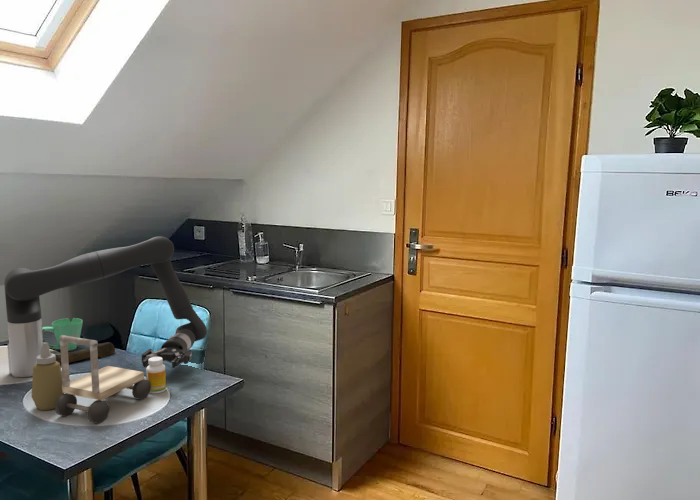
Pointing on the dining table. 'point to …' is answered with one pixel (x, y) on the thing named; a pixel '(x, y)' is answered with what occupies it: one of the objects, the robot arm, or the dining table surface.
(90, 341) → the trolley
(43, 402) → the squeeze bottle
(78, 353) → the hand tool
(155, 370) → the supplement bottle
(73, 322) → the mug
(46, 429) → the dining table surface
